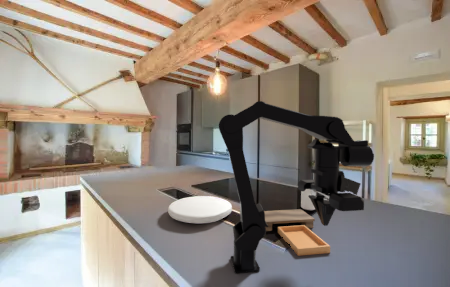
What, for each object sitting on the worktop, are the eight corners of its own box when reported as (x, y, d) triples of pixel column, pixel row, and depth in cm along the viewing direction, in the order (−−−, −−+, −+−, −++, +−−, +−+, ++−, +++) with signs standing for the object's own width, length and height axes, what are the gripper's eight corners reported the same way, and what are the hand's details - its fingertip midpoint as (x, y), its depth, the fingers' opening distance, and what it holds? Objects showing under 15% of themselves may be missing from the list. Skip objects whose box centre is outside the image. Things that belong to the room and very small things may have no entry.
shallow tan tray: (330, 252, 60) (330, 246, 60) (298, 255, 58) (298, 249, 58) (304, 230, 73) (304, 225, 73) (277, 232, 72) (277, 226, 72)
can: (306, 211, 92) (307, 184, 91) (298, 206, 98) (298, 181, 98) (319, 209, 94) (319, 183, 93) (309, 205, 100) (310, 180, 99)
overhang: (314, 227, 76) (314, 218, 76) (262, 231, 73) (262, 222, 72) (300, 216, 86) (300, 209, 85) (254, 219, 82) (254, 211, 82)
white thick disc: (184, 192, 104) (236, 196, 99) (184, 205, 104) (236, 209, 99) (155, 205, 77) (224, 211, 72) (154, 222, 77) (224, 230, 71)
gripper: (387, 172, 45) (384, 241, 46) (330, 161, 64) (329, 210, 64) (342, 173, 44) (339, 244, 44) (297, 161, 62) (296, 212, 63)
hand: (324, 225), depth 54 cm, fingers closed
